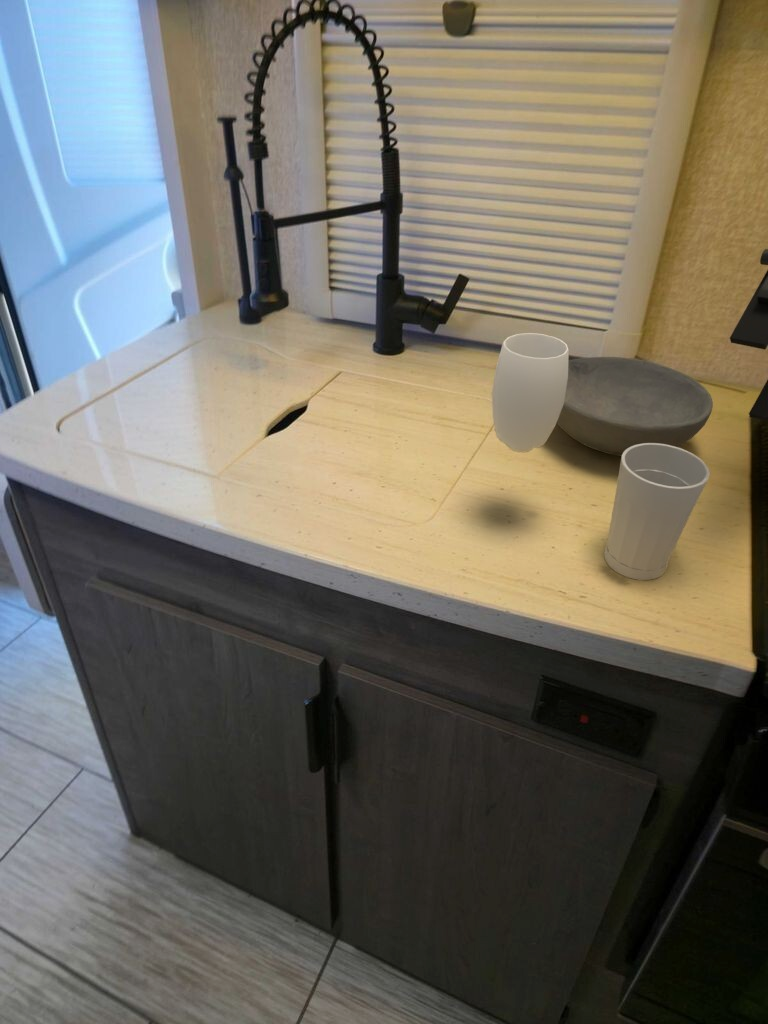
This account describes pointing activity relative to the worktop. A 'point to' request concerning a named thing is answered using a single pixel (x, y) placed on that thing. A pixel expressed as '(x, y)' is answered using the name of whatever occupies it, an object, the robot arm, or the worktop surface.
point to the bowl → (631, 404)
